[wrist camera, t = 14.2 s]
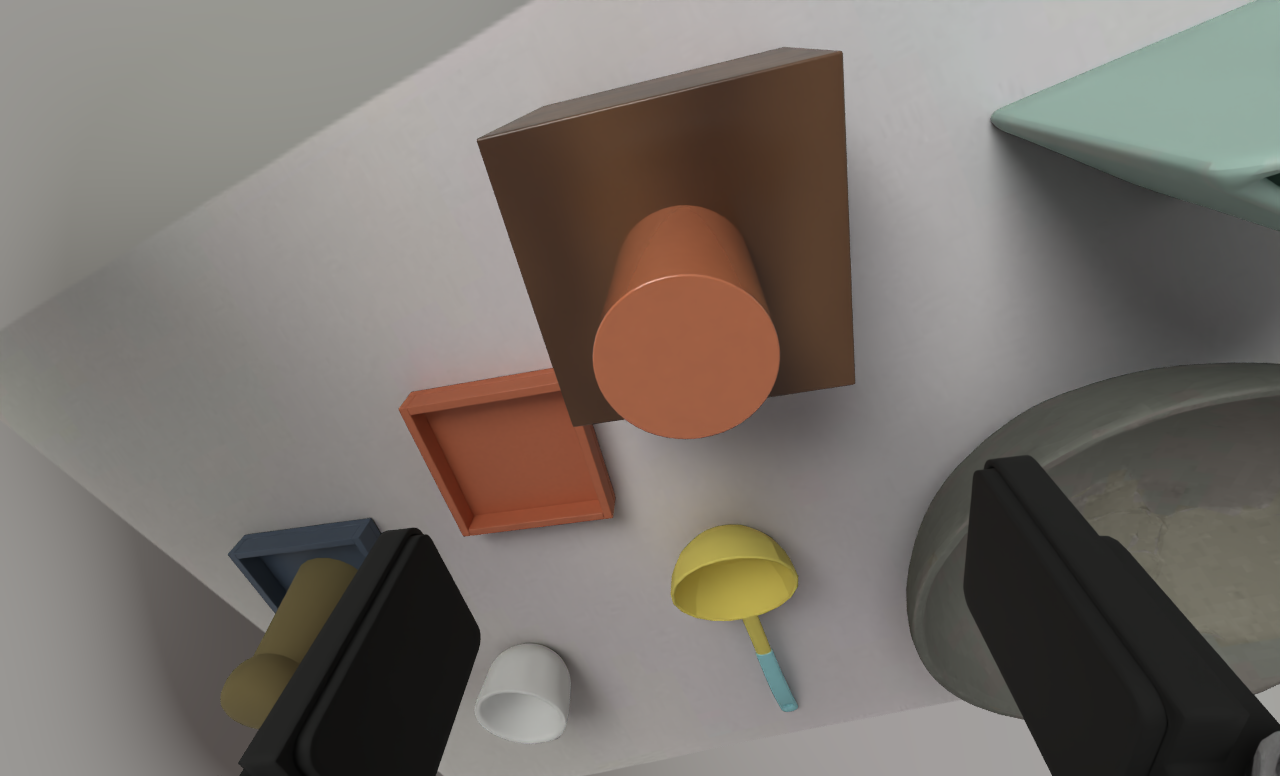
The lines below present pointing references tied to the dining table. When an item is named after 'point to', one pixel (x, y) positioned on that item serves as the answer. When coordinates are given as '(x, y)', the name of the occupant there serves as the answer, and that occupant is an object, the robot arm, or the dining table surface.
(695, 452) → the dining table surface
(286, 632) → the pepper shaker
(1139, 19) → the dining table surface
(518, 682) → the teacup
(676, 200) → the block
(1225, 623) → the bowl
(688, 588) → the ladle
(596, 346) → the terracotta jar
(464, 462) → the terracotta tray
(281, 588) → the slate tray
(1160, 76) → the planter
